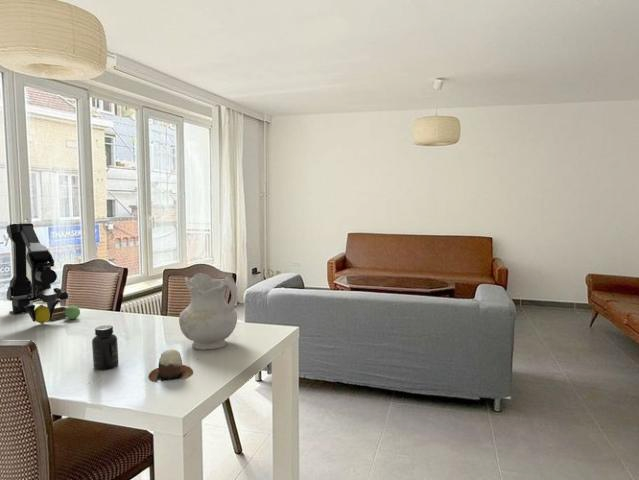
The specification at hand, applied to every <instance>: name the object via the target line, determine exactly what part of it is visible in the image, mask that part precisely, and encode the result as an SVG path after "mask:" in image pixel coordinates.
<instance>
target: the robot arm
mask: <svg viewBox="0 0 639 480" xmlns="http://www.w3.org/2000/svg"><path fill="white" fill-rule="evenodd" d="M6 233H7V235H8V238H9V239H10V241H11V242H12V246H13V252H12V253H13V254H12V255H13V276H12V278H11V279H10V280H9V286H8V287H7V291H6V300H8V301H10V302H11V306H12V307H11V308H12V310H11V311H8V313H10V314H12V315H21V314H26V313H28V315H29V317H30V318H31V321H32V322H36V321H35V309H36V305H35V304H34V303H36V302H42V303H46V307H48V309H49V311H50V317H49V318H51V317H52V314H53V311H54V308H56V305H57V304H59V303H61V301H62V300H68V299H69V293H68V291H64V290H62V288H61V287H60V286H59V287H54V288H52V285H51V284H53V283H55V282H56V280H57V279H58V278H57V277H58V274H57V272H56V271H54V270H53V269H52V267H54V266H55V261H54V258H53V255H52V253H51V252H50V251H49V250H48V248H47V246H46V245H44V244H42V243H41V242H40V240H39V237H38V236H37V234H36V232H35V229H34V224H33V222H30V221H29V222H28V221H26V222H24V221H23V222H10V223H9V224H8V225H6ZM27 264H28V266H29V268H30V276H31V277H30V278H31V280H30V279H29V278H28V276H27Z"/></svg>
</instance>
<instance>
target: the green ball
mask: <svg viewBox="0 0 639 480" xmlns="http://www.w3.org/2000/svg"><path fill="white" fill-rule="evenodd" d="M67 307H68V308H67V309H66V310H65V316H66V317H67V319H68V320H76V319H77V318H78V317H80V315H81V308H79V307H78V306H76V305H69V306H67Z"/></svg>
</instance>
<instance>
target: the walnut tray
mask: <svg viewBox="0 0 639 480" xmlns="http://www.w3.org/2000/svg"><path fill="white" fill-rule="evenodd" d="M68 307H69V306H58V307H55V308H54V311H53V314H52V317H51V318H49V319H48V321H56V320H61V319H65V318H66V316H65V310H66V309H67V308H68Z"/></svg>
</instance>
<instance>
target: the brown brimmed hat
mask: <svg viewBox="0 0 639 480" xmlns="http://www.w3.org/2000/svg"><path fill="white" fill-rule="evenodd" d="M193 371H194V370H193V368H191V367H190V366H189V365H184V364H183V360H182V355H181V353H180V351H178V350H177V349H175V348H174V349H173V348H169V349H166V350H164V351H163V352H162V353H161V355H160V358H159V361H158V366H157V367H156V368H154V369H153V370H151V371H150V372H149V374H148V379H149V380H150V381H152V382H154V383H158V384H159V383H160V382H164V381H172V380H173V381H175V380H186V379H189V378H190V377H191V376H192V375H193V373H194V372H193ZM158 381H159V382H158Z"/></svg>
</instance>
